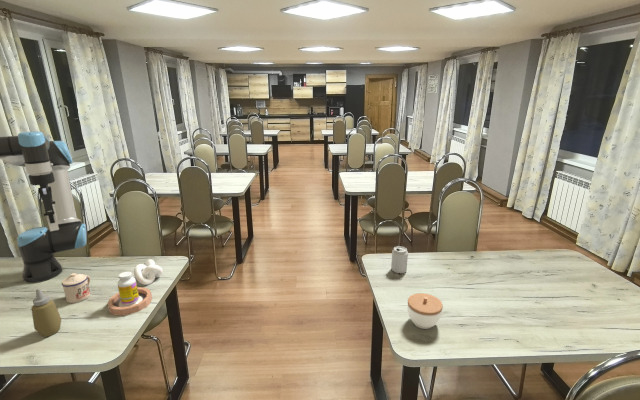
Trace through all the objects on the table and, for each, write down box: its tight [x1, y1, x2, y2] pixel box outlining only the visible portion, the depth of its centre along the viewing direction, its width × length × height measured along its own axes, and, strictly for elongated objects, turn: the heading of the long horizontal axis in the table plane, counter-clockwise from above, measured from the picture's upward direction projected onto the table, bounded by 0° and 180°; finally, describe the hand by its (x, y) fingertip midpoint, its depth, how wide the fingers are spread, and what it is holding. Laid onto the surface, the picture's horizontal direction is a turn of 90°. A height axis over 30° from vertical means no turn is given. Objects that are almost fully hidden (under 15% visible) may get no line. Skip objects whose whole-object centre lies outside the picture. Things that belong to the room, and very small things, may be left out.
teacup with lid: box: [61, 272, 91, 304], centre depth 150 cm, size 12×9×12 cm
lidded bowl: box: [407, 292, 443, 330], centre depth 131 cm, size 13×13×11 cm
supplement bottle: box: [117, 271, 139, 305], centre depth 144 cm, size 7×7×13 cm
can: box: [390, 245, 409, 274], centre depth 169 cm, size 8×8×12 cm
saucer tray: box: [107, 286, 153, 316], centre depth 146 cm, size 16×16×3 cm
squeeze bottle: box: [31, 288, 62, 337], centre depth 127 cm, size 8×8×18 cm
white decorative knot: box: [133, 258, 164, 286], centre depth 162 cm, size 11×12×9 cm
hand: (54, 225), depth 138 cm, fingers open, 13 cm apart
